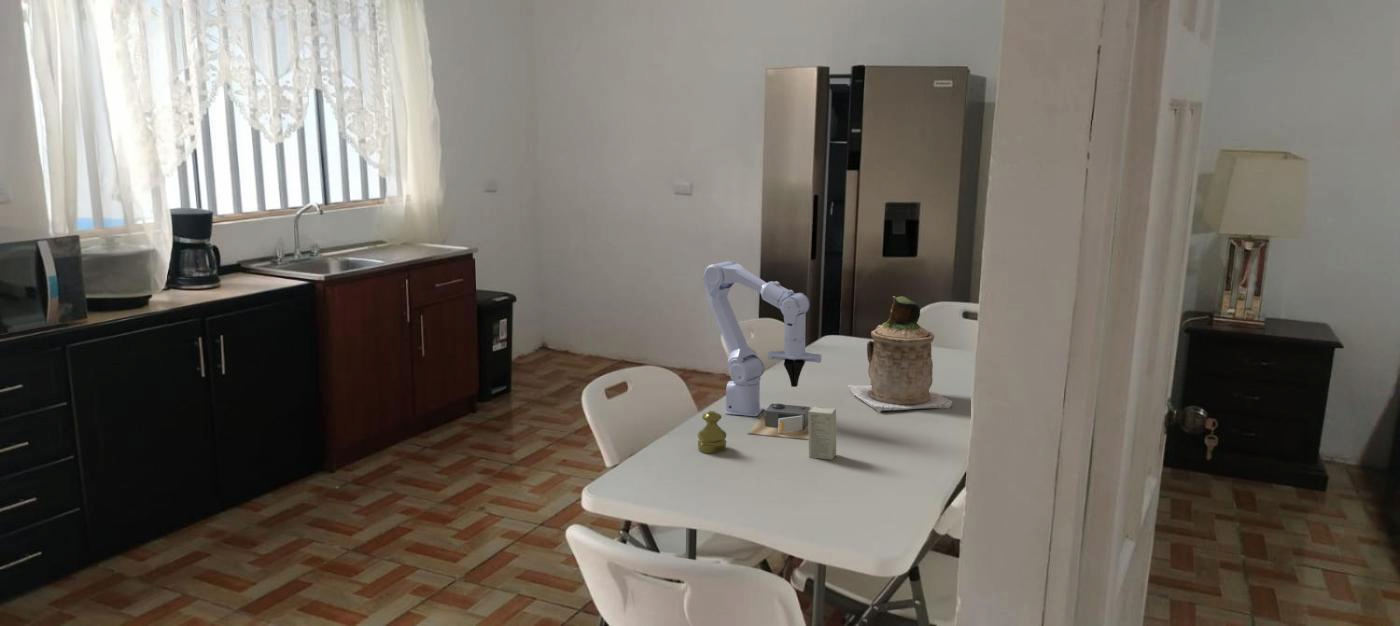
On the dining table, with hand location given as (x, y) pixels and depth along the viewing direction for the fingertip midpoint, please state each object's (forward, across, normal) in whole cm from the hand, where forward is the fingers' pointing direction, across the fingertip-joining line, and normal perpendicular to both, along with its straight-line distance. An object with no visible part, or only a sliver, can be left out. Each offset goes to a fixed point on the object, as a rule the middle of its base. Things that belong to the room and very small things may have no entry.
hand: (794, 385), depth 269 cm
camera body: (+10, -1, -4) cm, 11 cm away
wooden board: (+10, -1, -6) cm, 12 cm away
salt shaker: (+11, -15, -28) cm, 34 cm away
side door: (+10, +2, -10) cm, 14 cm away
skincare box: (+11, +13, -25) cm, 30 cm away
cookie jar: (+11, +25, +30) cm, 40 cm away
